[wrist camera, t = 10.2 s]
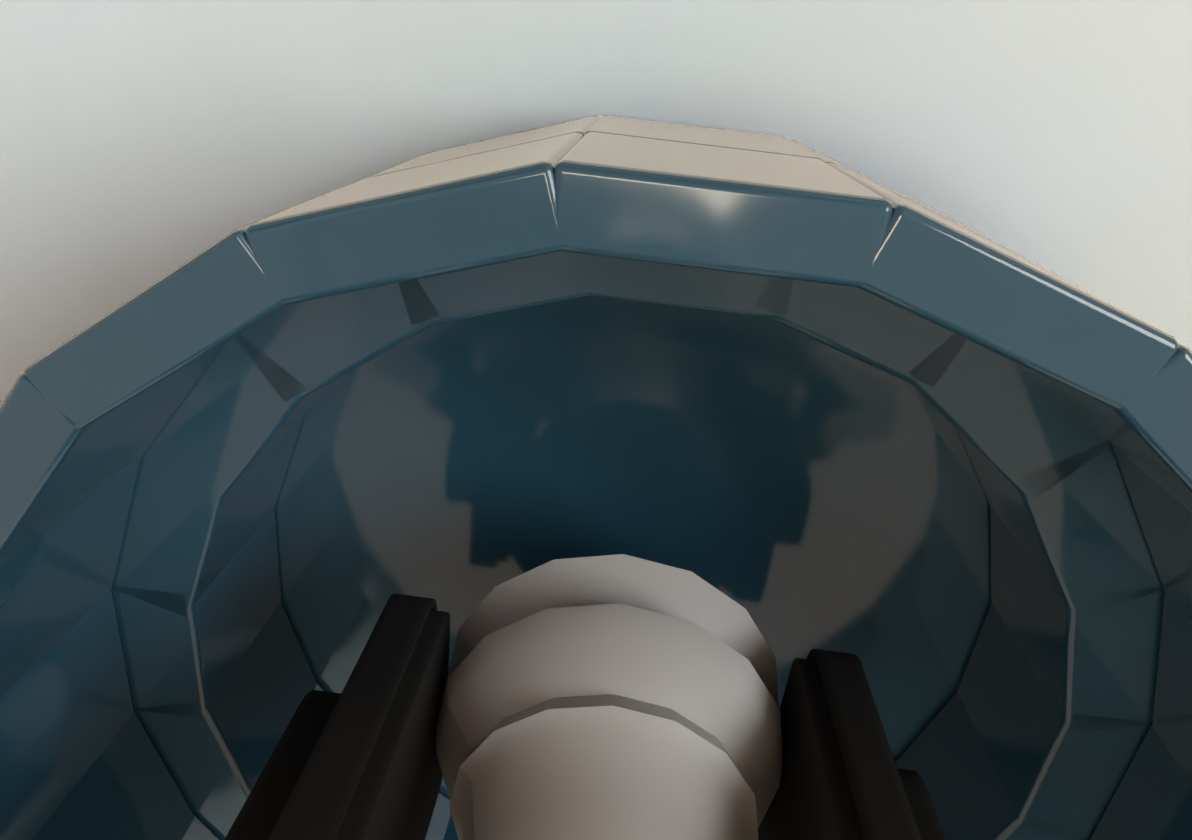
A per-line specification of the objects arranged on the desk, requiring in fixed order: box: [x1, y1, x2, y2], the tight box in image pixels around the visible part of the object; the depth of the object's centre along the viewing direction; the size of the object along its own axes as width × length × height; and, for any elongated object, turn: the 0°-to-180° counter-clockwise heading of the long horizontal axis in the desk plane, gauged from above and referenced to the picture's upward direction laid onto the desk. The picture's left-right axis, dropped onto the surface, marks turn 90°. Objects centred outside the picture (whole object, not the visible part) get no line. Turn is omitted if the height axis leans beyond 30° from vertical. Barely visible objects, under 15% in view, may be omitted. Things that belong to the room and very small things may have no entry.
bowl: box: [0, 115, 1192, 840], centre depth 11 cm, size 14×14×6 cm
